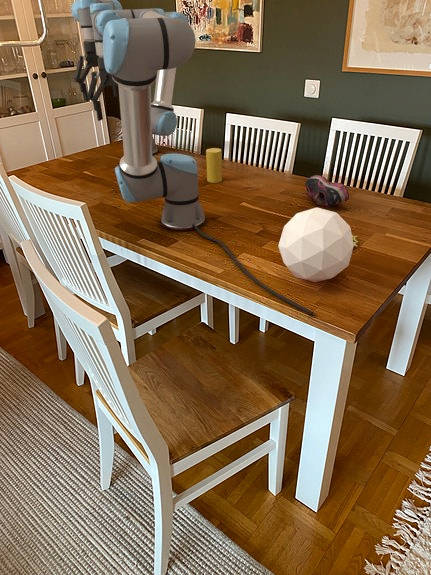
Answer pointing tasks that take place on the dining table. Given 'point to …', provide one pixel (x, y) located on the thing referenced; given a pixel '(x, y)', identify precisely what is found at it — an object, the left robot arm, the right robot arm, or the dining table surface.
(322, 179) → the athletic shoe
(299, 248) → the sphere
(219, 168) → the can
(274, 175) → the dining table surface
